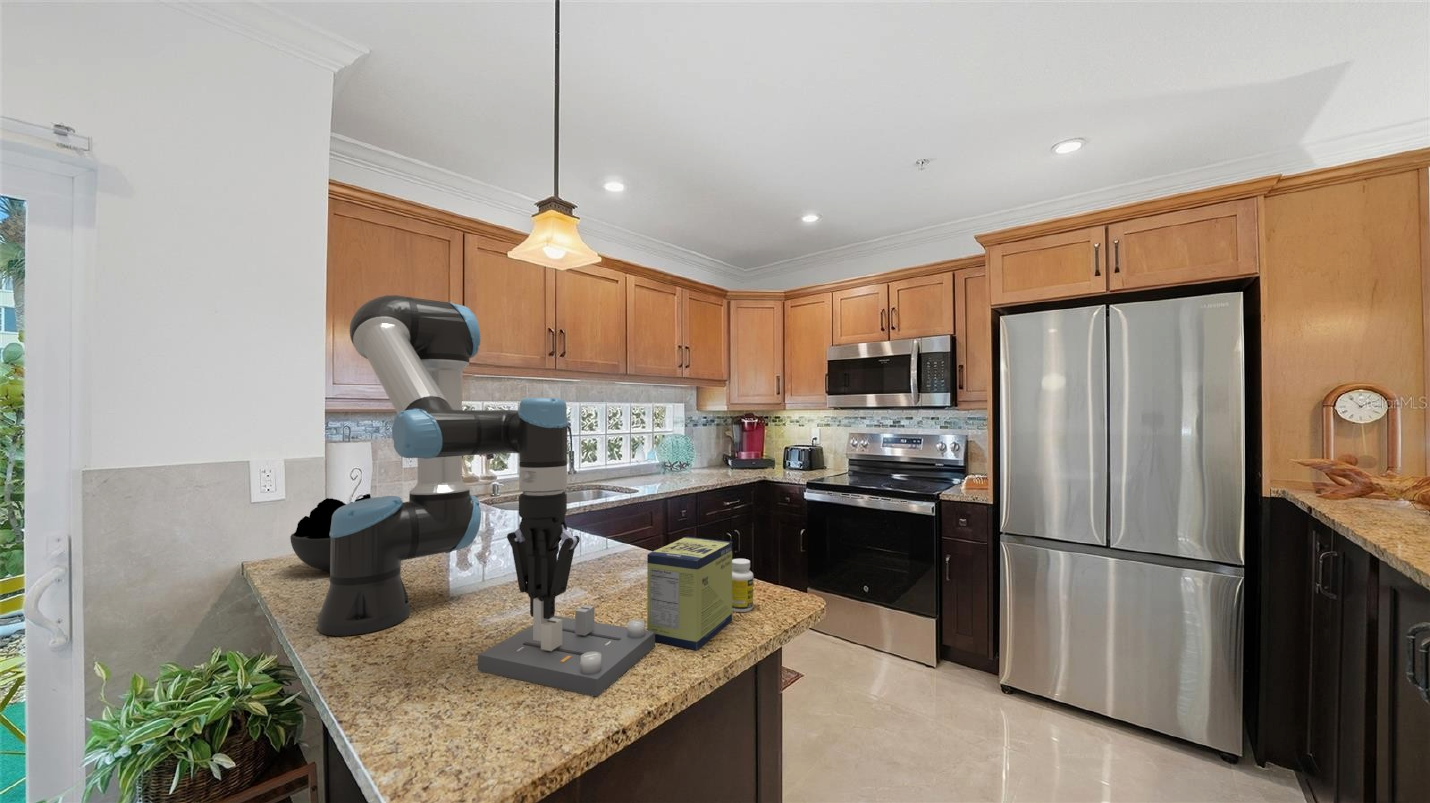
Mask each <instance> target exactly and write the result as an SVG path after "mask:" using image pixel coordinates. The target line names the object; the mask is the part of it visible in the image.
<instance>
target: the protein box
mask: <svg viewBox="0 0 1430 803" xmlns="http://www.w3.org/2000/svg"><path fill="white" fill-rule="evenodd" d="M732 560H733V541H727V540H719V539H710V538H699V537H692V536H685V537H682V538H681V539H678V540H675V541H674V542H671V543H669V544H667V545H665V546H661V547H660V548H658V549H655V550H653V551H651V552H649V553H647V560H646V562H647V564H646V565H647V566H646V567H647V568H646V569H647V572H646V573H647V574H646V576H647V582H646V584H647V587H646V588H647V589H646V590H647V594H646V595H647V598H646V601H647V602H646V604H647V606H646V607H647V608H646V609H647V610H646V615H647V616H646V617H647V618H646V620H647V621H646V622H647V624H646V625H647V626H646V628H647V629H646V631H652V632H655V643H656V642H657V643H661V644H666V645H671V646H675V647H680V648H683V649H684V648H685V649H690V650H694V651H698V650H699V649H700V648H702V647H703V646H704V645H706V644H707V642H709V641H710V640H711V639H713V637H715V636H716V635H717V634H718V633H719V632H720V631H721V630H723V629H724V628H725V627H726V626H728V625H729V624H730V623H731V622H732V621H733V611H732Z"/></svg>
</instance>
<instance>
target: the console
mask: <svg viewBox="0 0 1430 803" xmlns="http://www.w3.org/2000/svg"><path fill="white" fill-rule="evenodd" d="M552 618H556V619H562V645H560V646H559V647H557V648H555V649H554V650H552V651H547V650H542V649H541V641H537V640H533V624H532V625H530V626H528V627H526V628H524V629H522V630H520V631H519V632H517V633H515V634H513V635H512V636H510V637H507V638H505V639H504V640H502V641H500V642H499V643H496V644H495V645H493V646H491V647H489V648H488V649H485V650H484V651H482V652H480V653H479V654H477V671H478V672H483V673H487V674H490V675H491V674H492V675H496V676H500V677H506V678H510V679H513V680H514V679H515V680H519V681H523V682H527V683H533V684H535V685H536V684H537V685H540V686H541V685H542V686H546V687H550V688H556V689H560V690H564V691H569V692H574V693H578V694H583V695H587V696H591V697H596V698H597V697H599V696H600V695H601V694H602V693H603V692H604V691H606V690H607V689H608V688H609V687H611V685H613V683H615V682H616V681H618V679H619V678H620V677H622V676H623V675H624V674H625V673H627V671H629V670H630V669H631V668H632V667H633V666H635V665H636V664H637V663H638V662H639V661H641V659H642V658H644V657H645V656H646V655H647V654H648V653H650V651H651V650H653V649H654V648H656V642H655V632H652V631H647V629H646V621H645V620H642V619H632V620H629V621H628V622H627V624H626V625H627V626H621V625H620V626H619V625H616V624H608V623H602V622H596V621H594V630H593V631H592V632H590V633H589V634H587V635H585V636H583V635H578V634H575V618H572V617H566V616H558V615H554V616H553V617H552Z"/></svg>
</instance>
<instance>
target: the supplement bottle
mask: <svg viewBox="0 0 1430 803" xmlns="http://www.w3.org/2000/svg"><path fill="white" fill-rule="evenodd" d="M750 568H751V560H749V559H746V558H732V612H736V613H746V612H750V611H752V610H753V608H754V573H753V572H752V571H751V570H750Z"/></svg>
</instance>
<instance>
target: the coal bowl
mask: <svg viewBox="0 0 1430 803" xmlns="http://www.w3.org/2000/svg"><path fill="white" fill-rule="evenodd" d="M370 498H372V497H371V494H370V493H367V494H364V495H363V496H362V497H360V498H357V499H354V501H350V502H349V503H353V502H356V501H360V500H365V499H370ZM344 505H346V503H345V502H343V501H341V500H340V499H335V498H333V497H331V498H329V497H327V498H325V499H323V500H321V501H320V502H318V504H317V505H316V507H315V508H313V509H312V510H311V511H310V512H309V516H308V515H305V516H303V517H302V518H301V519H300V520H299V521H298V523H297V526H296V529H295V531H294V532H293V533H291V535H290V538H289V539H290V544H291V547H292V550H293V551H294V554H295V555H296V557H298V558H299V560H301V562H303V563H304V564H306V565H307V566H309V567H311V568H315V569H316V570H321V571H329V572H330V546H331V537H330V536H329V533H330V529H331V521H332V515H333V513H334V512H335V511H336V510H337V509H338V508H340V507H342V506H344Z"/></svg>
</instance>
